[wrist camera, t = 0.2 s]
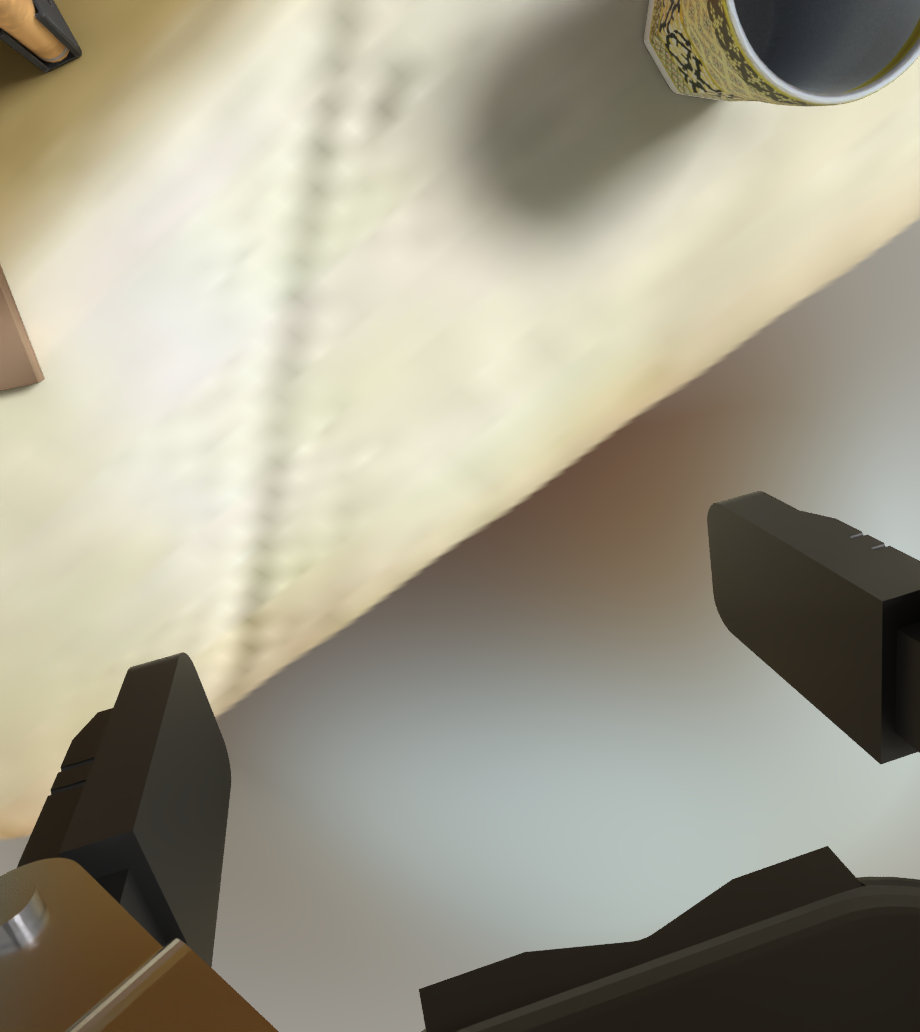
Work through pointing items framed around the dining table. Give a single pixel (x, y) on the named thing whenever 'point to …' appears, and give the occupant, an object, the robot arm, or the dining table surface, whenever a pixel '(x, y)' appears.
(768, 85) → the ceramic cup
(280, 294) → the dining table surface
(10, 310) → the hinge frame
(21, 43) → the ammunition clip
